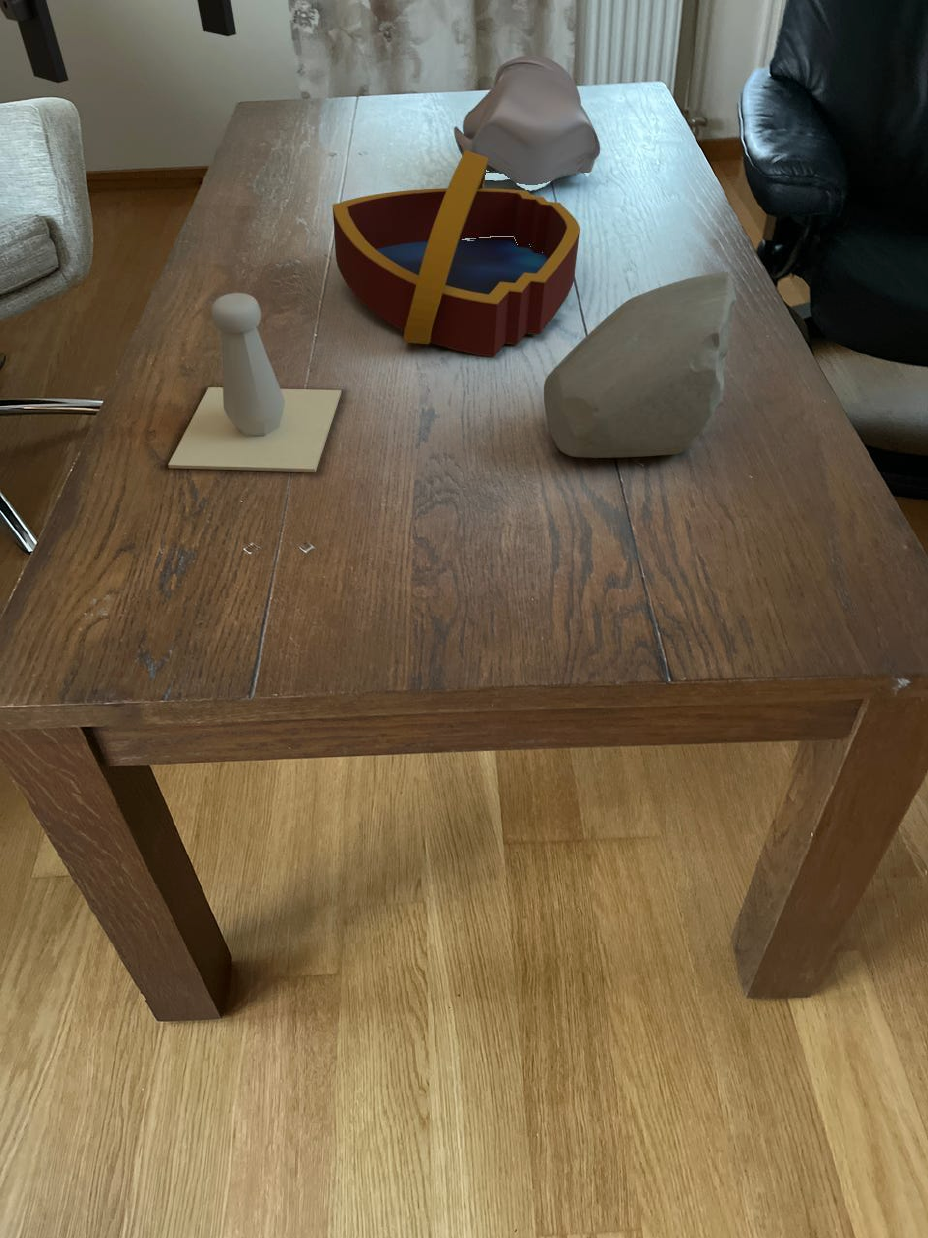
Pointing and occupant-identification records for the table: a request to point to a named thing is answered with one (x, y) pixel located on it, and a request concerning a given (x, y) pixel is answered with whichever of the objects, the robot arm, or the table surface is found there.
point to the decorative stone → (644, 373)
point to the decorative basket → (459, 260)
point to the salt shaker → (246, 367)
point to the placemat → (281, 450)
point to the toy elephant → (531, 124)
